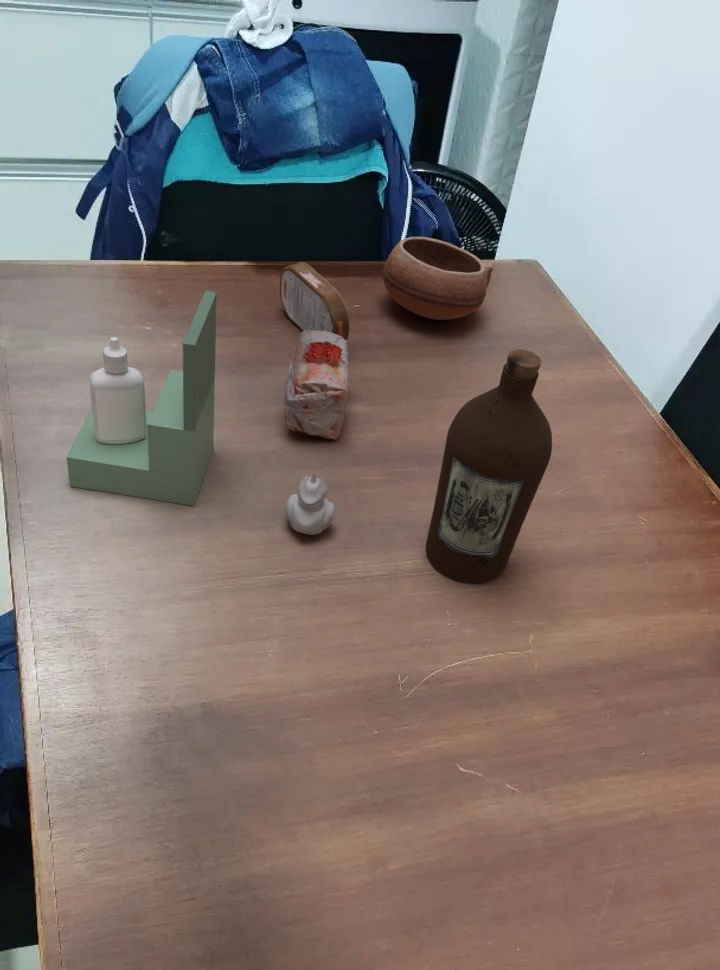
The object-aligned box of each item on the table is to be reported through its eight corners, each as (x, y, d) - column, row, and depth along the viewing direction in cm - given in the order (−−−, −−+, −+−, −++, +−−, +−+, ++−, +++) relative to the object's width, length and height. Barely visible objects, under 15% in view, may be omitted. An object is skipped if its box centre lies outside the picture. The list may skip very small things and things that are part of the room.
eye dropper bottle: (138, 451, 101) (134, 354, 93) (89, 441, 101) (79, 343, 93) (150, 430, 104) (147, 334, 96) (102, 420, 104) (94, 323, 96)
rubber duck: (278, 537, 101) (283, 479, 95) (292, 501, 106) (298, 444, 100) (325, 548, 101) (334, 491, 95) (338, 512, 105) (346, 455, 100)
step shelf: (69, 486, 102) (49, 320, 87) (97, 430, 110) (83, 269, 95) (194, 506, 103) (195, 345, 88) (213, 449, 110) (216, 292, 96)
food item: (345, 447, 114) (355, 378, 107) (281, 441, 113) (287, 371, 106) (344, 387, 123) (353, 320, 116) (285, 381, 122) (291, 312, 115)
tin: (347, 357, 129) (355, 300, 122) (328, 361, 127) (335, 304, 121) (292, 306, 136) (296, 250, 130) (273, 309, 135) (277, 253, 129)
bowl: (498, 319, 142) (514, 256, 135) (437, 350, 133) (451, 285, 126) (420, 278, 148) (432, 216, 141) (357, 305, 139) (366, 240, 132)
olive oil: (434, 513, 108) (484, 316, 89) (520, 542, 106) (589, 348, 88) (407, 568, 100) (456, 367, 82) (499, 600, 99) (569, 402, 81)
